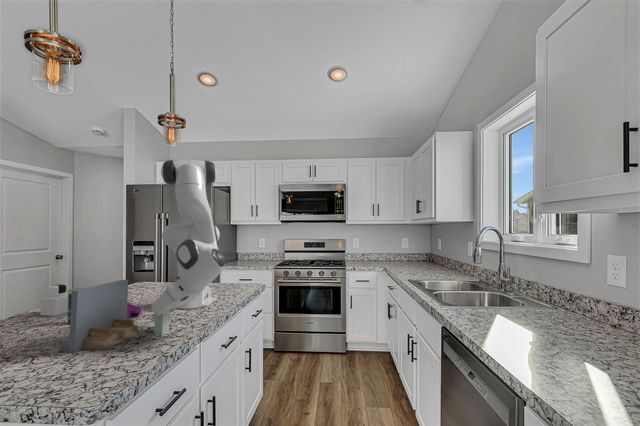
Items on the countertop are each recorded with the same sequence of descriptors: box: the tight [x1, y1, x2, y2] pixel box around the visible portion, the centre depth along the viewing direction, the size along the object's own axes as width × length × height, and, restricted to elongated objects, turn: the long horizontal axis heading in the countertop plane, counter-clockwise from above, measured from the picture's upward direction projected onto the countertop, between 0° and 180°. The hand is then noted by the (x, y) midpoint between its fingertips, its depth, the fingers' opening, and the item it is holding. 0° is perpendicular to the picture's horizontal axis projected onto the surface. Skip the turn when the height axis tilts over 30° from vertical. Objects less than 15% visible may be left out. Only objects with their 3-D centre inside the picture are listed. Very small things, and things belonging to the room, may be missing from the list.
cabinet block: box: [153, 310, 171, 335], centre depth 108 cm, size 4×3×10 cm
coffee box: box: [67, 288, 82, 326], centre depth 118 cm, size 8×3×13 cm, turn 126°
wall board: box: [59, 279, 129, 353], centre depth 101 cm, size 20×5×18 cm, turn 172°
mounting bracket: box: [127, 302, 142, 319], centre depth 121 cm, size 10×8×18 cm
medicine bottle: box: [40, 284, 68, 317], centre depth 130 cm, size 7×7×12 cm
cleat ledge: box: [84, 318, 139, 351], centre depth 100 cm, size 14×7×6 cm, turn 172°
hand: (162, 313), depth 108 cm, fingers open, 7 cm apart
